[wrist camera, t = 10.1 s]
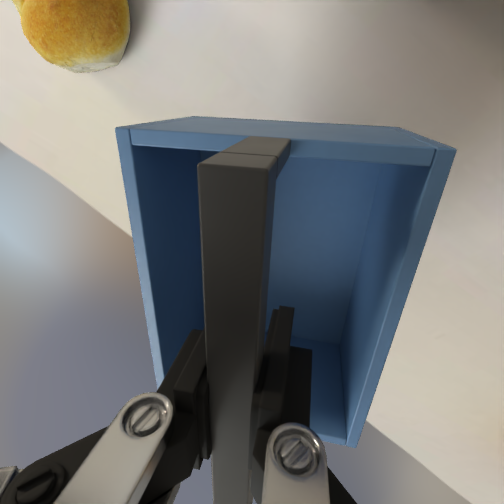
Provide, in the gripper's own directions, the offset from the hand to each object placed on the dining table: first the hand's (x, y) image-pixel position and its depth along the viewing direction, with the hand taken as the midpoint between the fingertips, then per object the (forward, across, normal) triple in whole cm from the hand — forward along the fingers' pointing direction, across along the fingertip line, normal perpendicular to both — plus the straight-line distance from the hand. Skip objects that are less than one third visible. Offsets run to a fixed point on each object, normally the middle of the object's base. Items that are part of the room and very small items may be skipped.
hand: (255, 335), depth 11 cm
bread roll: (+16, +16, -13) cm, 26 cm away
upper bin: (+7, 0, 0) cm, 7 cm away
